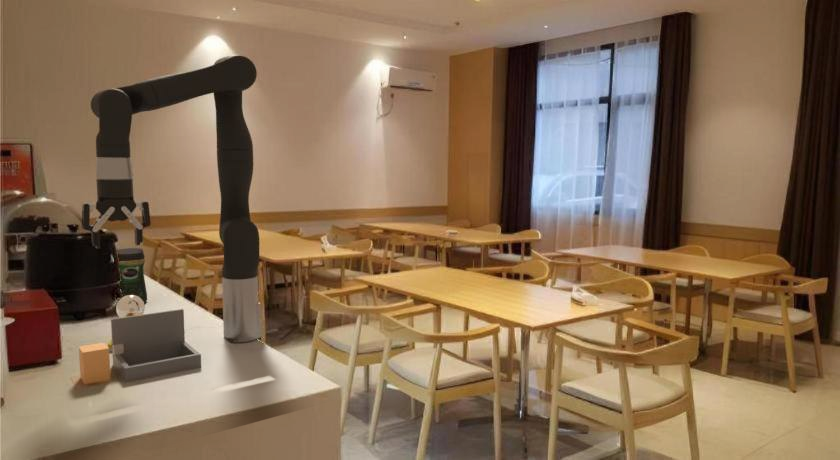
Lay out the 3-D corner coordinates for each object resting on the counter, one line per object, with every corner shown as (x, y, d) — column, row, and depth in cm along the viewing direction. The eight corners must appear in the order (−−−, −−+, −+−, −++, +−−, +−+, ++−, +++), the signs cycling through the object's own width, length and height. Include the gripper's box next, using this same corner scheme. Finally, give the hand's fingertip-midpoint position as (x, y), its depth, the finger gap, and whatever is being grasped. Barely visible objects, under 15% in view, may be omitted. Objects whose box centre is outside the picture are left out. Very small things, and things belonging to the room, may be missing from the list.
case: (184, 355, 148) (182, 308, 147) (201, 370, 138) (199, 320, 137) (113, 369, 138) (110, 318, 137) (126, 386, 128) (123, 332, 127)
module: (105, 372, 133) (104, 342, 133) (110, 379, 129) (108, 348, 129) (80, 377, 130) (78, 346, 130) (84, 384, 126) (82, 352, 126)
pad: (111, 373, 136) (111, 369, 135) (118, 384, 129) (118, 380, 129) (70, 381, 131) (70, 377, 130) (76, 393, 124) (76, 388, 124)
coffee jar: (146, 298, 206) (144, 245, 204) (148, 304, 199) (145, 249, 197) (115, 301, 202) (112, 247, 199) (115, 307, 195) (112, 250, 192)
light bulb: (111, 340, 160) (109, 296, 159) (132, 333, 166) (130, 291, 165) (131, 343, 157) (128, 299, 156) (151, 336, 164) (149, 293, 162)
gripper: (143, 176, 145) (146, 242, 147) (76, 177, 137) (80, 246, 139) (151, 177, 139) (154, 246, 141) (82, 178, 131) (86, 251, 133)
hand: (118, 246), depth 140 cm, fingers open, 8 cm apart
